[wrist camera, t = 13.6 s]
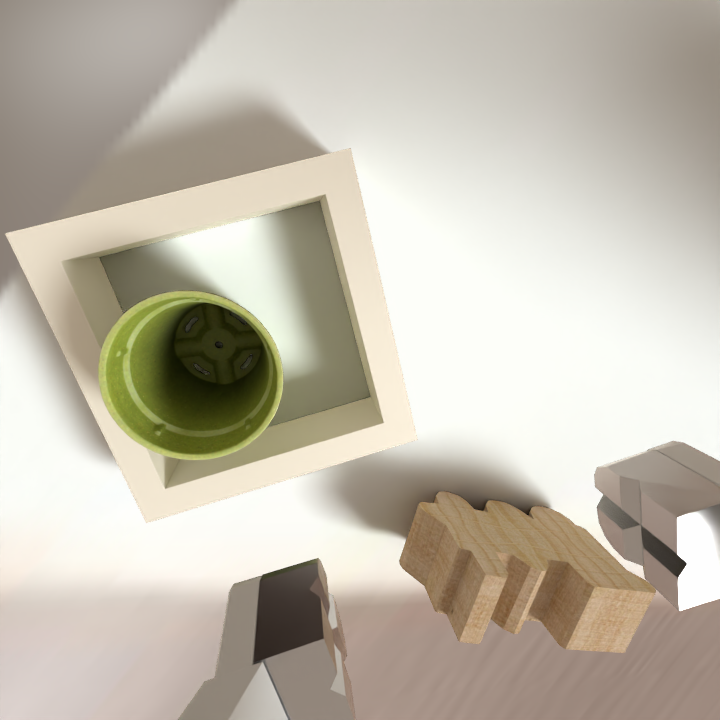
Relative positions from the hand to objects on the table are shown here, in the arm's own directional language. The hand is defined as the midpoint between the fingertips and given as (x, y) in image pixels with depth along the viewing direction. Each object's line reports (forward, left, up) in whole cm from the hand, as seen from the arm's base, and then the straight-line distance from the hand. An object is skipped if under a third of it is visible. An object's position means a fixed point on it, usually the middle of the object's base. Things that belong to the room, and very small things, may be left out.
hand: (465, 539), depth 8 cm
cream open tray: (+6, 0, -25) cm, 26 cm away
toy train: (-9, +23, -25) cm, 35 cm away
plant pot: (+8, 0, -25) cm, 27 cm away
